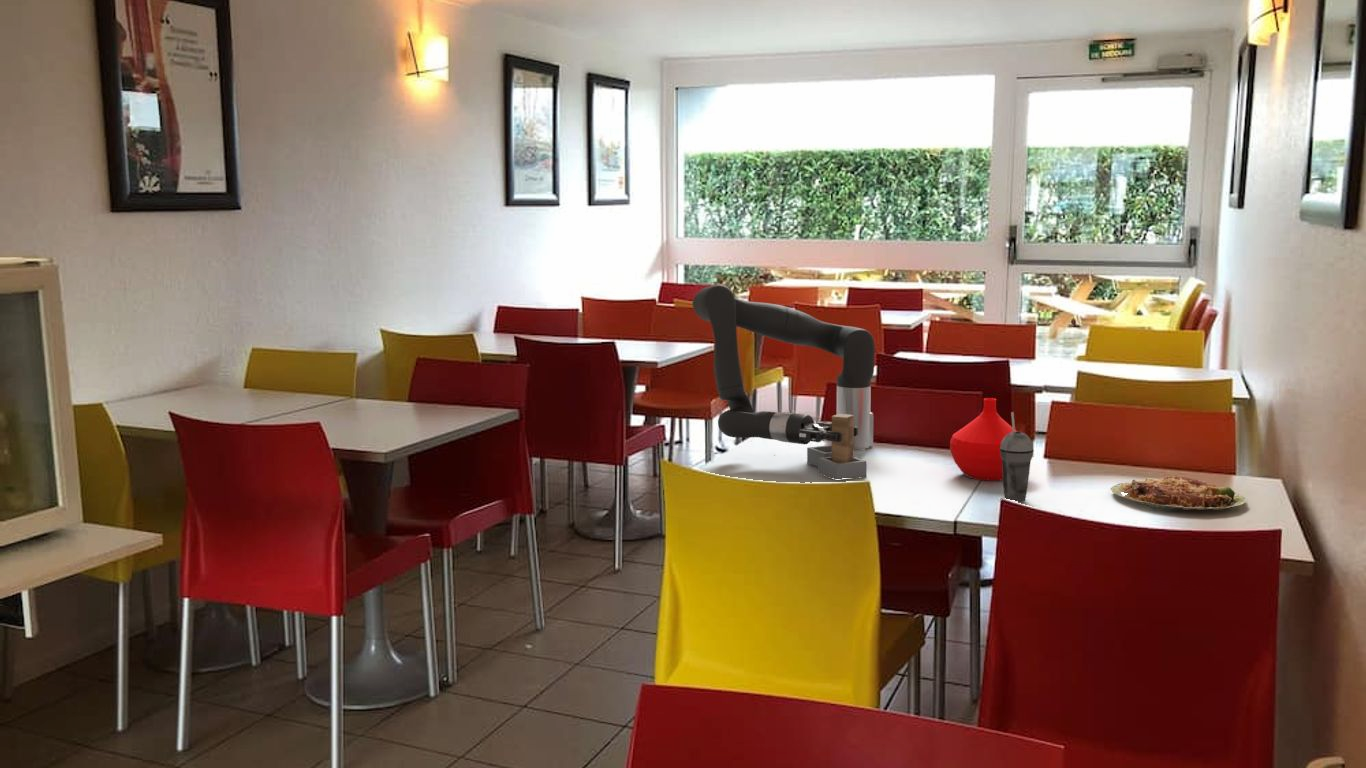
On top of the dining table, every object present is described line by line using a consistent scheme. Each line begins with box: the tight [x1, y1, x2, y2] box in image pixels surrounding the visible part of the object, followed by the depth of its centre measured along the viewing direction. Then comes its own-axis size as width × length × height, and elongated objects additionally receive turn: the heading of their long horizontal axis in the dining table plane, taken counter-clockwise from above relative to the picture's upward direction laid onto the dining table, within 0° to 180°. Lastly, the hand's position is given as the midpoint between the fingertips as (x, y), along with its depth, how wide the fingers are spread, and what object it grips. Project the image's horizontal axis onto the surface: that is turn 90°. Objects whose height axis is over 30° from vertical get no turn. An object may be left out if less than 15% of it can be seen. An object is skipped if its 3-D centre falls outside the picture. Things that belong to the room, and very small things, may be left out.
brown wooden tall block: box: [831, 413, 854, 464], centre depth 271 cm, size 4×4×14 cm
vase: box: [949, 397, 1019, 482], centre depth 269 cm, size 18×18×19 cm
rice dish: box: [1110, 475, 1247, 511], centre depth 246 cm, size 28×28×5 cm
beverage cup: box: [1000, 411, 1034, 503], centre depth 246 cm, size 7×7×20 cm
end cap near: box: [817, 456, 868, 482], centre depth 272 cm, size 8×8×4 cm
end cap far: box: [806, 444, 832, 468], centre depth 285 cm, size 8×8×4 cm
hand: (849, 434), depth 270 cm, fingers open, 8 cm apart
